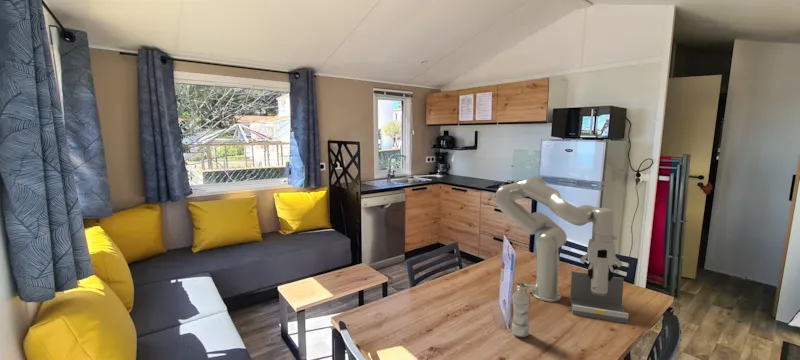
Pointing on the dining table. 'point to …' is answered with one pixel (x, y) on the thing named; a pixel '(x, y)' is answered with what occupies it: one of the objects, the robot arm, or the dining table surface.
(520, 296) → the plastic bottle
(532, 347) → the dining table surface
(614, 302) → the grey bookend
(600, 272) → the travel mug
